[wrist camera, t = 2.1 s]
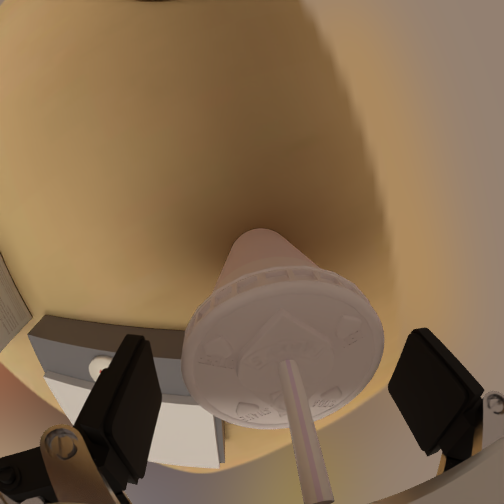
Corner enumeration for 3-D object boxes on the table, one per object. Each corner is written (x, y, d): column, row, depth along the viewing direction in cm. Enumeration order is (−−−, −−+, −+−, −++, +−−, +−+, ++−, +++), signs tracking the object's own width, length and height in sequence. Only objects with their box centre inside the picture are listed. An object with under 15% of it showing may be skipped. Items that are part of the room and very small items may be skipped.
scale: (45, 314, 17) (22, 340, 14) (219, 332, 18) (217, 370, 15) (95, 422, 22) (86, 446, 19) (225, 440, 23) (224, 469, 20)
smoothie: (308, 198, 15) (517, 362, 2) (314, 295, 18) (408, 496, 4) (198, 214, 15) (76, 451, 2) (217, 310, 18) (203, 535, 4)
